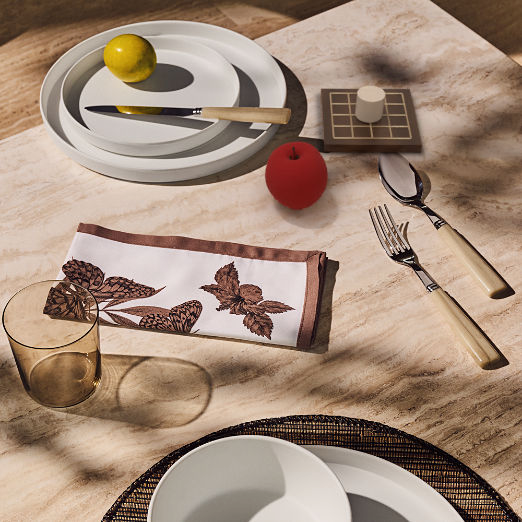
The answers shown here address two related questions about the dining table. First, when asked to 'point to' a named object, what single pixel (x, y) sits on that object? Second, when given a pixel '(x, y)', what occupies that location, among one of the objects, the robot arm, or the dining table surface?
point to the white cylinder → (369, 104)
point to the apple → (296, 175)
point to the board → (369, 134)
